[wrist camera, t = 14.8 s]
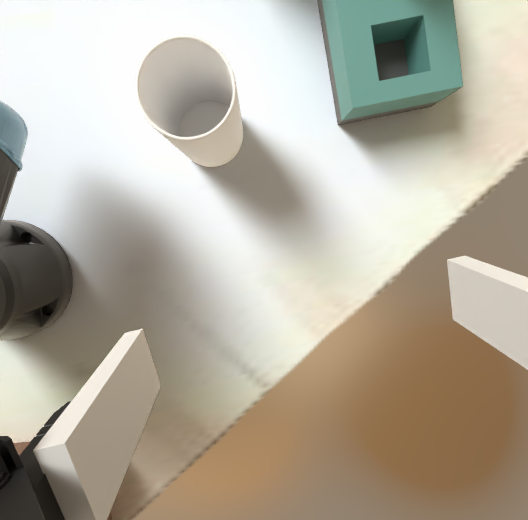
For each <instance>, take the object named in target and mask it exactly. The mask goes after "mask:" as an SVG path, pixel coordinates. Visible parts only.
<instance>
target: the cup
mask: <svg viewBox="0 0 528 520" xmlns="http://www.w3.org/2000/svg"><path fill="white" fill-rule="evenodd" d="M135 91H136V97H137V101H138V104H139V107H140V109H141V111H142V113H143V115H144V116H145V118H146V119H147V120H148V122H149V123H150V124H151V125H152V126H153V127H154V128H155V129H156V130H157V131H158V132H160V133H161V134H162V135H163V136H164V137H165V138H166V139H168V140H169V141H170V142H171V143H172V144H173V145H174V146H176V147H177V148H178V149H179V150H180V151H181V152H183V153H184V154H185V155H186V156H187V157H188V158H189V159H191V160H192V161H193V162H195V163H197V164H199V165H202V166H205V167H217V166H221V165H224V164H226V163H228V162H229V161H231V160H232V159H233V158H234V157H235V156H236V155H237V153H238V152H239V150H240V148H241V145H242V142H243V126H242V120H241V113H240V107H239V101H238V94H237V88H236V82H235V77H234V74H233V71H232V68H231V66H230V64H229V62H228V61H227V59H226V57H225V56H224V55H223V53H222V52H221V51H220V50H219V49H218V48H217V47H216V46H214V45H213V44H212V43H210V42H208V41H207V40H205V39H202V38H200V37H196V36H192V35H175V36H171V37H168V38H165V39H163V40H161V41H159V42H158V43H156V44H155V45H154V46H152V47H151V48H150V49H149V50H148V51H147V53H146V54H145V55H144V57H143V58H142V60H141V62H140V64H139V67H138V70H137V74H136V80H135Z"/></svg>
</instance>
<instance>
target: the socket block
mask: <svg viewBox="0 0 528 520" xmlns="http://www.w3.org/2000/svg"><path fill="white" fill-rule="evenodd" d="M317 1H318V7H319V13H320V19H321V25H322V31H323V37H324V43H325V49H326V55H327V61H328V68H329V74H330V80H331V86H332V92H333V98H334V104H335V110H336V116H337V122H338V125H341V124H346V123H351V122H356V121H361V120H366V119H371V118H376V117H381V116H386V115H391V114H396V113H401V112H406V111H411V110H416V109H421V108H426V107H431V106H433V105H434V104H436V103H437V102H439V101H440V100H442V99H444V98H445V97H447V96H448V95H450V94H452V93H453V92H455V91H456V90H458V89H459V88H461V87H463V81H462V73H461V65H460V56H459V48H458V40H457V32H456V23H455V15H454V7H453V0H317Z"/></svg>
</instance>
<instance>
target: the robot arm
mask: <svg viewBox="0 0 528 520" xmlns="http://www.w3.org/2000/svg"><path fill="white" fill-rule="evenodd" d="M27 135H28V134H27V127H26V125H25V123H24V120H23V119H22V118H21V117H20V116H19V114H18V113H17V112H15V111H14V110H13V109H12V108H10V107H9V106H8V105H6V104H5V103H3V102H2V101H0V340H11V339H18V338H23V337H26V336H29V335H32V334H34V333H36V332H38V331H40V330H42V329H44V328H46V327H47V326H49V325H50V324H52V323H53V322H54V321H56V320H57V319H58V318H59V316H60V315H61V314H62V313H63V311H64V310H65V308H66V306H67V304H68V302H69V299H70V296H71V292H72V272H71V268H70V264H69V261H68V259H67V257H66V255H65V253H64V251H63V250H62V248H61V247H60V245H59V244H58V243H57V242H56V241H55V240H54V239H53V238H52V237H51V236H50V235H49V234H47V233H46V232H45V231H43V230H42V229H40V228H38V227H36V226H34V225H31V224H29V223H25V222H21V221H15V220H2V219H3V216H4V213H5V209H6V206H7V203H8V200H9V197H10V194H11V191H12V187H13V184H14V181H15V178H16V175H17V172H18V171H21V170H22V162H21V159H22V155H23V152H24V148H25V144H26V140H27ZM447 264H448V274H449V284H450V294H451V304H452V314H453V320H455V321H456V322H458V323H459V324H461V325H462V326H464V327H465V328H467V329H468V330H470V331H471V332H473V333H474V334H476V335H477V336H479V337H480V338H481V339H483V340H484V341H486V342H488V343H489V344H491V345H492V346H494V347H495V348H496V349H498V350H499V351H501V352H502V353H504V354H505V355H507V356H508V357H510V358H511V359H513V360H514V361H516V362H517V363H519V364H520V365H522V366H523V367H525V368H526V369H528V278H527V277H524V276H521V275H519V274H516V273H513V272H510V271H507V270H504V269H501V268H498V267H496V266H493V265H490V264H487V263H484V262H481V261H478V260H475V259H473V258H470V257H467V256H462V257H457V258H453V259H448V260H447ZM160 387H161V383H160V380H159V377H158V374H157V371H156V368H155V365H154V362H153V359H152V356H151V352H150V349H149V346H148V343H147V340H146V337H145V334H144V331H143V329H139V330H134V331H130V332H125V333H124V335H123V336H122V337H121V338H120V340H119V341H118V342H117V343H116V345H115V346H114V347H113V349H112V350H111V351H110V352H109V354H108V355H107V356H106V358H105V359H104V360H103V361H102V363H101V364H100V365H99V367H98V368H97V369H96V370H95V372H94V373H93V374H92V376H91V377H90V378H89V379H88V381H87V382H86V383H85V385H84V386H83V387H82V388H81V390H80V391H79V392H78V394H77V395H76V396H75V397H74V399H73V400H72V401H70V402H67V403H66V404H65V405H64V406H62V407H61V408H60V409H59V410H57V411H56V412H55V413H54V414H53V415H52V416H51V417H50V419H49V420H48V421H47V422H46V423H45V425H44V427H42V428H41V430H40V431H39V432H38V433H37V436H36V437H34V438H33V439H32V441H31V442H30V443H29V444H28V446H27V447H26V448H25V449H24V450H23V452H22V453H21V454H20V455H18V453H17V450H16V448H15V446H14V444H13V441H12V439H11V438H9V437H8V436H0V520H107V518H108V516H109V513H110V511H111V509H112V506H113V504H114V501H115V499H116V496H117V494H118V491H119V489H120V486H121V484H122V481H123V479H124V476H125V474H126V471H127V469H128V466H129V464H130V462H131V459H132V457H133V454H134V452H135V449H136V447H137V444H138V442H139V439H140V437H141V434H142V432H143V429H144V427H145V424H146V422H147V419H148V417H149V415H150V412H151V410H152V407H153V405H154V402H155V400H156V397H157V395H158V392H159V390H160Z"/></svg>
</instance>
